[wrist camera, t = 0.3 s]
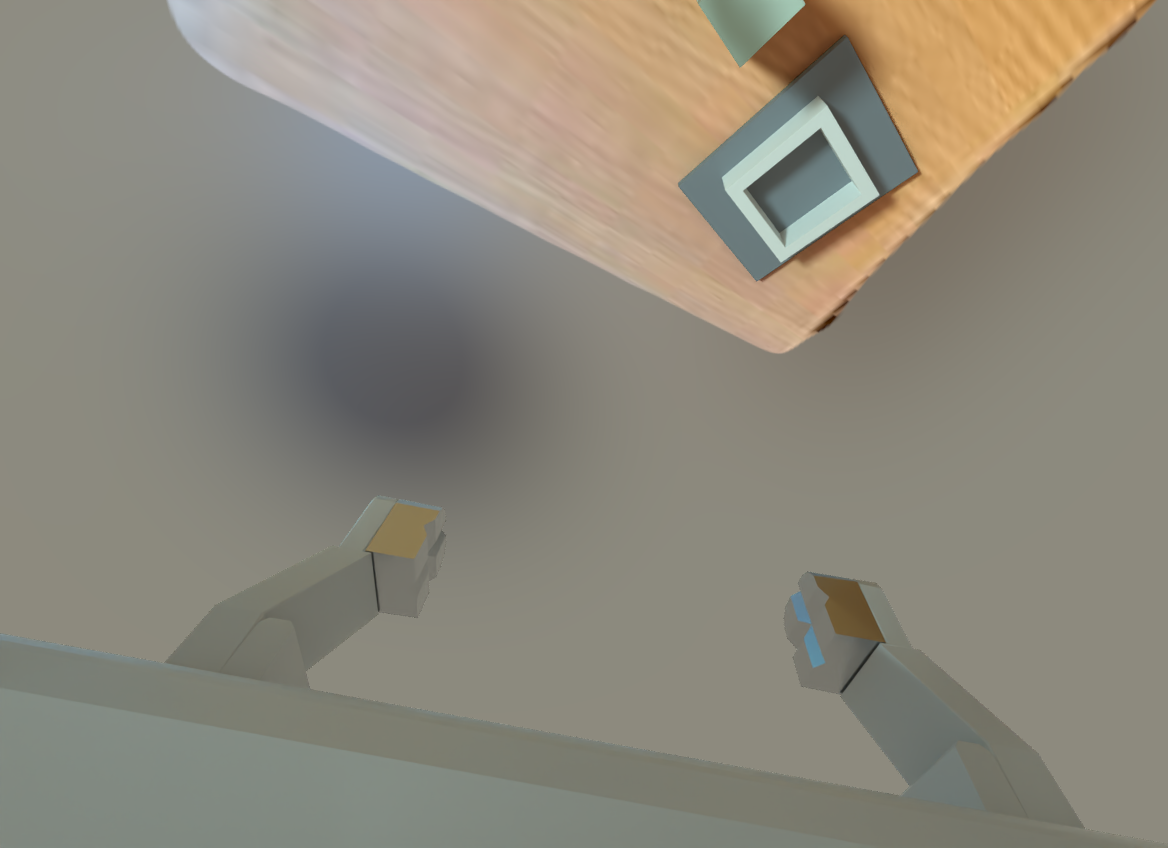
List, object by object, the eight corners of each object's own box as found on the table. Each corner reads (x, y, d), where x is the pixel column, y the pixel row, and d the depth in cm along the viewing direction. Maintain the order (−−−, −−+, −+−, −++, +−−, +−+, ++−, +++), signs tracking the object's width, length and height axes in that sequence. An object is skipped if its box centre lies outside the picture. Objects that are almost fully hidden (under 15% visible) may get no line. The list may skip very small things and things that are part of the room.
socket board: (844, 35, 43) (859, 44, 40) (914, 168, 50) (931, 185, 47) (678, 183, 53) (679, 199, 50) (755, 277, 60) (761, 297, 57)
